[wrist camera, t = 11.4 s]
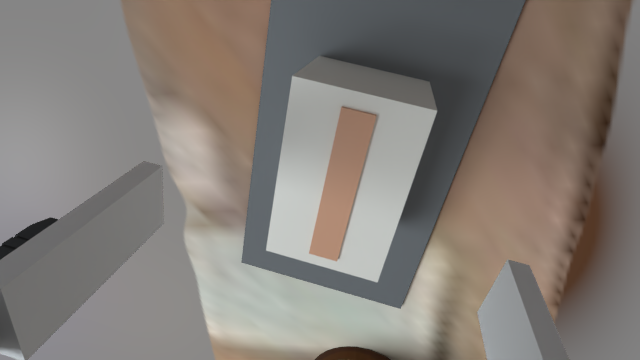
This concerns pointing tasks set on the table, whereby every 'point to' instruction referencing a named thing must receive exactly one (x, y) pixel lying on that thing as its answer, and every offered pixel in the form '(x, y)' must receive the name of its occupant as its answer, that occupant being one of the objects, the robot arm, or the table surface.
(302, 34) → the mat
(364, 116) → the white rectangular block
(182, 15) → the table surface
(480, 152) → the table surface
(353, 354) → the food container
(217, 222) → the table surface
